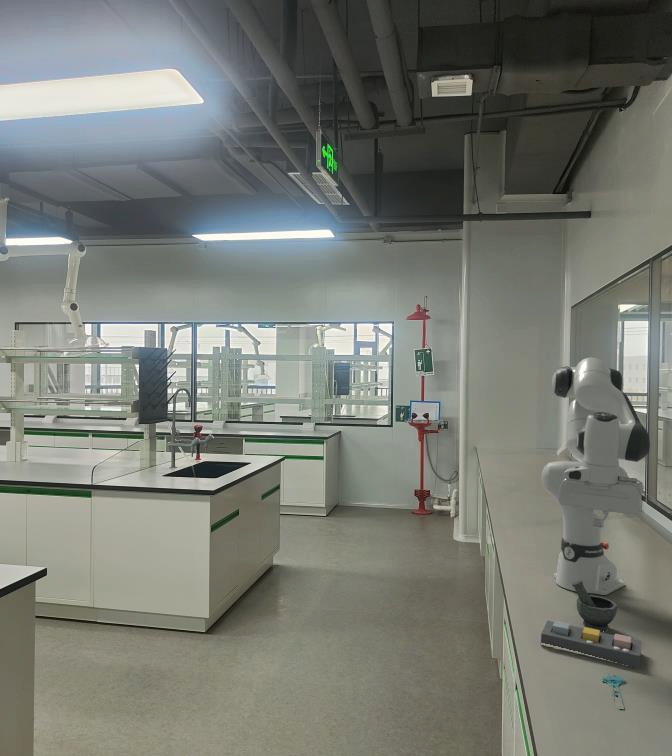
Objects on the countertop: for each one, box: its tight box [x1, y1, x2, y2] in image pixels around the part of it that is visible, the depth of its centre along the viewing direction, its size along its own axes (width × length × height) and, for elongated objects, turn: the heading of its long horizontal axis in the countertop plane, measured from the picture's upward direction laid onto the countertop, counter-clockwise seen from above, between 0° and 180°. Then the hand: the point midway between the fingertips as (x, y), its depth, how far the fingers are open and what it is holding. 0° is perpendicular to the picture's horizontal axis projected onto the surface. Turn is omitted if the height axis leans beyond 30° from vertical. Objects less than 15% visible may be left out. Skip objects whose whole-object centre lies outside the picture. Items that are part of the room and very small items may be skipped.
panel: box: [540, 620, 642, 669], centre depth 154 cm, size 22×9×3 cm, turn 62°
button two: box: [614, 633, 632, 650], centre depth 151 cm, size 4×4×2 cm
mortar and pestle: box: [572, 580, 618, 633], centre depth 167 cm, size 11×9×12 cm
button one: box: [582, 626, 600, 643], centre depth 154 cm, size 4×4×2 cm
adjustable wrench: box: [601, 674, 627, 698], centre depth 134 cm, size 14×1×5 cm
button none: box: [552, 620, 571, 636], centre depth 158 cm, size 4×4×2 cm
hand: (597, 526), depth 167 cm, fingers closed
